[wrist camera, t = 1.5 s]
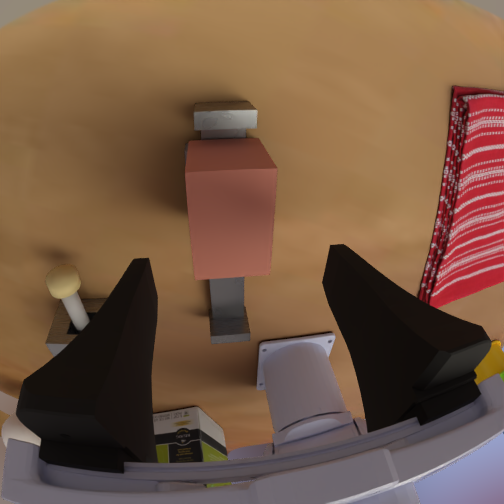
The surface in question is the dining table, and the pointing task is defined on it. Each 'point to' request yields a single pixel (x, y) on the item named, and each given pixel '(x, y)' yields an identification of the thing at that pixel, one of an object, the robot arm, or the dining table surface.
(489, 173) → the dish towel
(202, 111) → the rail
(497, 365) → the stacking cups
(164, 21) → the dining table surface
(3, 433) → the lightbulb
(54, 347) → the grey block with hole
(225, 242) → the block
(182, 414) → the tea box
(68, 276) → the plunger
